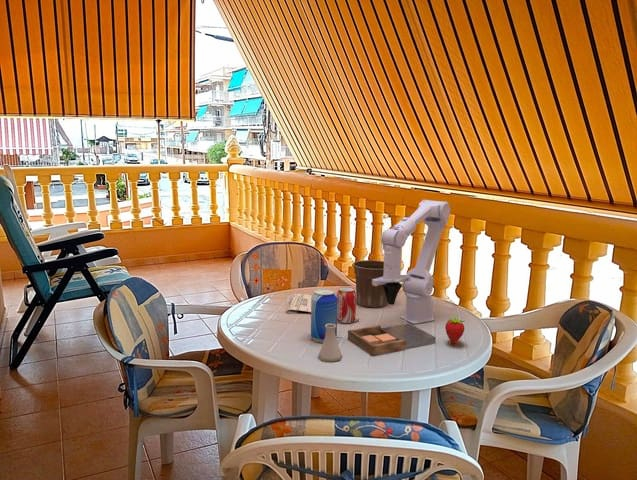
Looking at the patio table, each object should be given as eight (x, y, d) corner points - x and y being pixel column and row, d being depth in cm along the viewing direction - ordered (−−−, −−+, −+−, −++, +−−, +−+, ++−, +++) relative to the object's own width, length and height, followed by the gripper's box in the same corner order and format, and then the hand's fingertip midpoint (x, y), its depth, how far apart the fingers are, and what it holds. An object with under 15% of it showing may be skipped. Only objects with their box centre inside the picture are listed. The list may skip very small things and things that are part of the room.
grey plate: (409, 329, 176) (409, 323, 176) (435, 343, 164) (435, 337, 164) (379, 334, 171) (379, 328, 171) (404, 349, 159) (404, 343, 158)
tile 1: (370, 342, 165) (371, 334, 165) (379, 347, 161) (379, 340, 160) (357, 344, 163) (357, 337, 162) (365, 350, 158) (365, 342, 158)
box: (378, 333, 172) (379, 325, 171) (405, 349, 158) (405, 340, 158) (347, 339, 166) (348, 330, 166) (372, 356, 153) (372, 346, 153)
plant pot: (370, 295, 216) (371, 257, 213) (400, 304, 204) (402, 264, 201) (343, 302, 205) (344, 263, 202) (373, 312, 193) (375, 271, 190)
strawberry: (461, 340, 167) (463, 310, 165) (464, 349, 160) (467, 318, 158) (443, 339, 168) (445, 309, 166) (445, 347, 160) (447, 317, 159)
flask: (317, 352, 155) (317, 321, 153) (340, 352, 156) (341, 321, 154) (318, 362, 148) (319, 330, 146) (343, 362, 148) (344, 329, 147)
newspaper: (287, 297, 213) (288, 291, 212) (317, 301, 212) (317, 295, 212) (280, 315, 190) (281, 308, 190) (313, 319, 190) (314, 313, 189)
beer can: (318, 345, 161) (319, 296, 158) (306, 336, 168) (306, 289, 165) (341, 341, 165) (342, 293, 162) (328, 332, 172) (329, 286, 169)
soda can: (354, 325, 179) (355, 292, 177) (334, 323, 181) (335, 290, 179) (356, 318, 186) (357, 286, 184) (337, 317, 188) (338, 285, 185)
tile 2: (386, 340, 167) (387, 333, 166) (396, 345, 162) (396, 338, 162) (374, 342, 164) (374, 335, 164) (383, 348, 160) (383, 341, 160)
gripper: (380, 269, 164) (379, 310, 167) (417, 265, 171) (415, 304, 173) (369, 264, 171) (367, 304, 173) (404, 260, 177) (402, 298, 180)
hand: (390, 303), depth 174 cm, fingers closed
